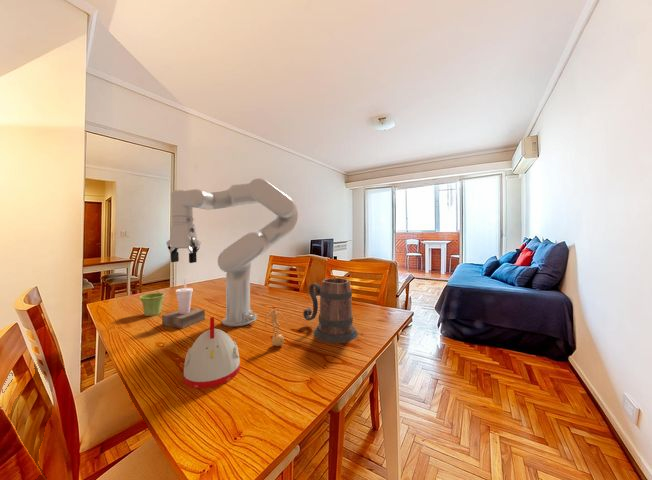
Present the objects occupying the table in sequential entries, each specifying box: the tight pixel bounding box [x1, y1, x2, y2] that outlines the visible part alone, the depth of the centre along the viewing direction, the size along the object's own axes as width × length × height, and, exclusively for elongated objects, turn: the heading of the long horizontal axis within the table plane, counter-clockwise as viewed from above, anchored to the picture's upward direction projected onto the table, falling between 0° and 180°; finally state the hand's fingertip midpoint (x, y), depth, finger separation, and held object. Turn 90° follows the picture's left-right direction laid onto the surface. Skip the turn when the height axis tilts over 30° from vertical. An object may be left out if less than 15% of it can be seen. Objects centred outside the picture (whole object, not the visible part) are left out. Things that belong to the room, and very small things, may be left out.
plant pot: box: [139, 292, 166, 317], centre depth 115 cm, size 9×9×9 cm
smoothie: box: [175, 278, 194, 314], centre depth 105 cm, size 6×6×14 cm
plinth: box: [161, 307, 206, 329], centre depth 106 cm, size 11×11×4 cm
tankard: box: [302, 277, 359, 344], centre depth 97 cm, size 24×17×20 cm
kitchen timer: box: [183, 316, 241, 389], centre depth 68 cm, size 14×14×15 cm
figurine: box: [264, 308, 287, 347], centre depth 85 cm, size 8×6×12 cm
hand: (183, 262), depth 105 cm, fingers open, 9 cm apart
